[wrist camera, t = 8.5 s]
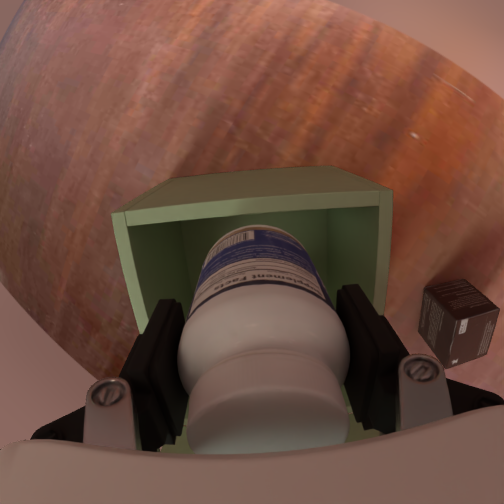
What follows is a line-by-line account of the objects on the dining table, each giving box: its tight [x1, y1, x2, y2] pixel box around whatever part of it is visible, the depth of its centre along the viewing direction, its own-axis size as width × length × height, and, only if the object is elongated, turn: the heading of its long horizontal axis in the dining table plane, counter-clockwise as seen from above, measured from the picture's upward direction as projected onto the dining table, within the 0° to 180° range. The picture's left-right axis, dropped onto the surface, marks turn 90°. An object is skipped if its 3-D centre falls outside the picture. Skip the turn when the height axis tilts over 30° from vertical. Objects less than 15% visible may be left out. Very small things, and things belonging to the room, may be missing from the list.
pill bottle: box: [177, 225, 350, 454], centre depth 11 cm, size 5×5×10 cm
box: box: [418, 279, 500, 369], centre depth 28 cm, size 6×6×7 cm
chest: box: [111, 166, 393, 425], centre depth 23 cm, size 16×14×12 cm
